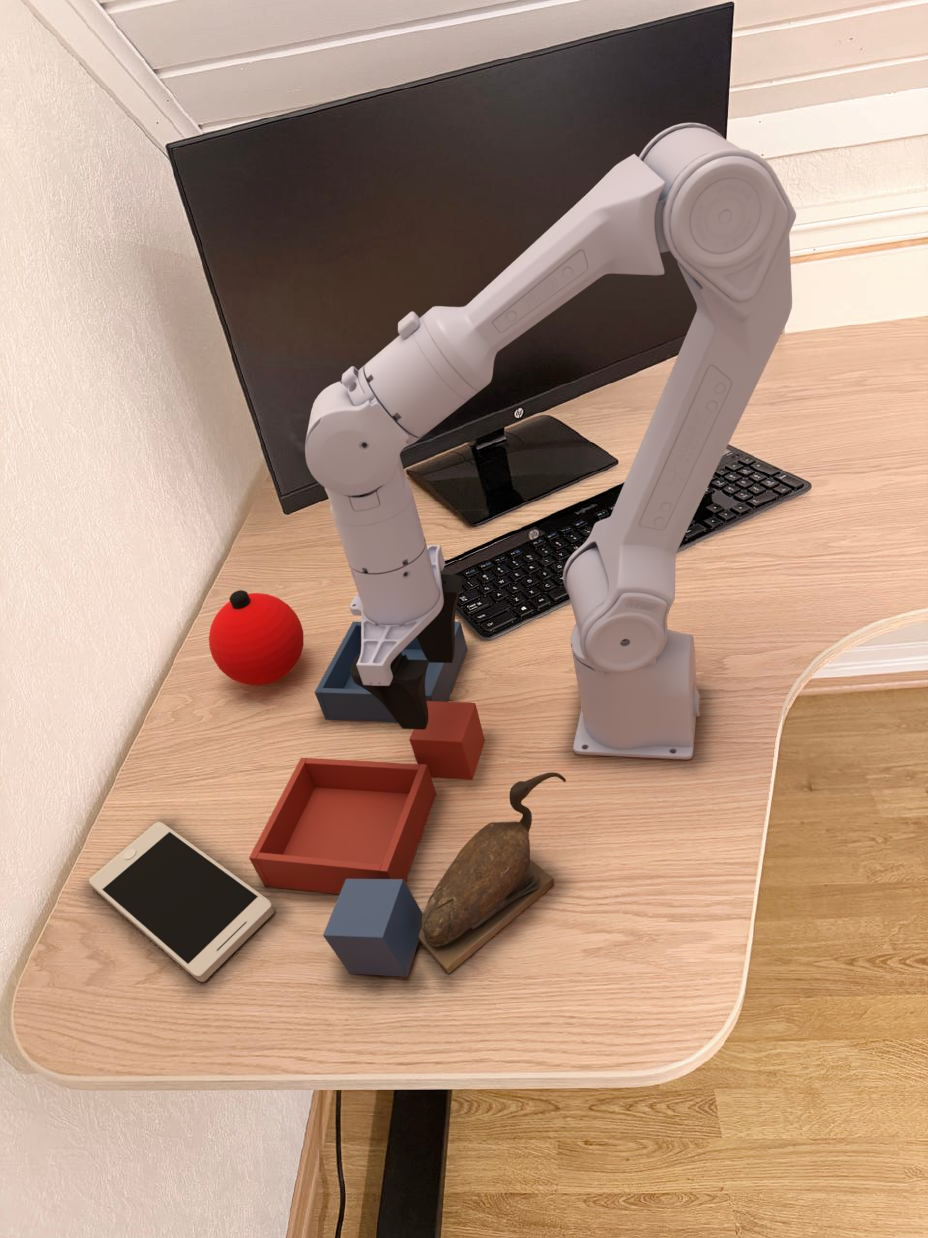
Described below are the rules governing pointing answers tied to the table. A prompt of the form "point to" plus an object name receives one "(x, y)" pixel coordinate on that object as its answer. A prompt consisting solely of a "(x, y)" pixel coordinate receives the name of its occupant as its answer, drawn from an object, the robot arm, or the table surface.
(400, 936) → the blue block
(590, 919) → the table surface
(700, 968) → the table surface
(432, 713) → the red block
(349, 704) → the blue bin
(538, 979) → the table surface
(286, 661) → the ornament
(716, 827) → the table surface
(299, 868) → the red bin
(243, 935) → the smartphone
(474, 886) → the figurine
